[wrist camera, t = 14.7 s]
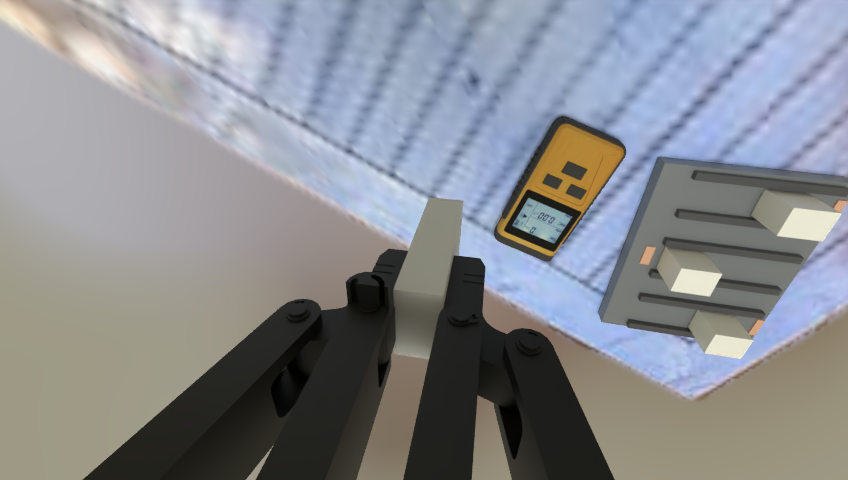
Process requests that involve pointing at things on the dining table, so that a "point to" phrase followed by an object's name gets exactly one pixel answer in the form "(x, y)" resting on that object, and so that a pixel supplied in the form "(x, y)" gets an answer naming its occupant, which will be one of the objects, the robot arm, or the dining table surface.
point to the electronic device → (558, 188)
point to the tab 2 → (720, 334)
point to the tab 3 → (795, 215)
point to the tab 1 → (688, 271)
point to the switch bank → (710, 244)
